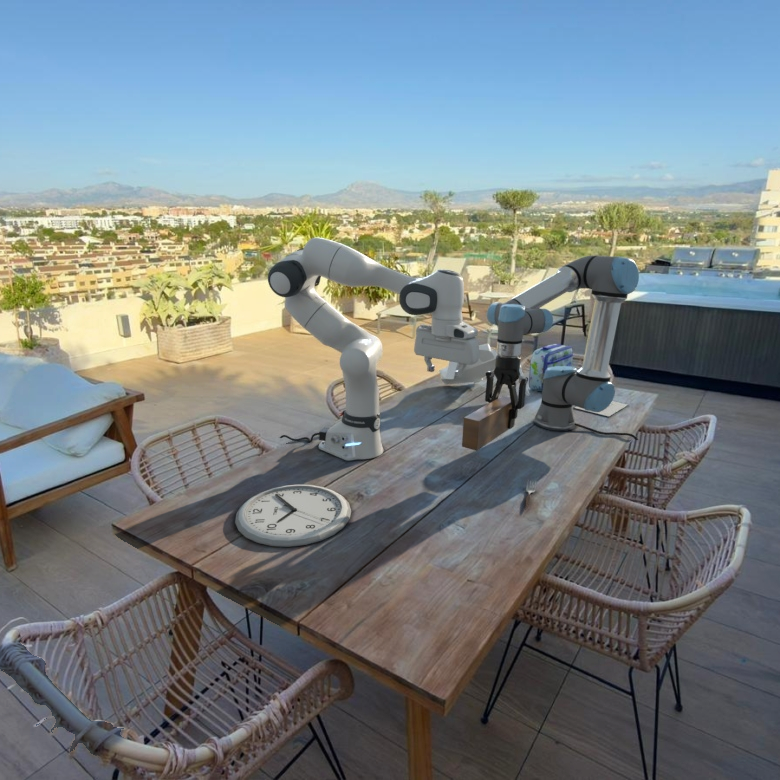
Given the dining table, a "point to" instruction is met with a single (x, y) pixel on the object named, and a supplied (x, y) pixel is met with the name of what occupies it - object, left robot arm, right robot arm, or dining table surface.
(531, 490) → the fork
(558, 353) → the lunch box
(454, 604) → the dining table surface
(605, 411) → the invitation card
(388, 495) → the dining table surface
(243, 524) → the wall clock
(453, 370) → the white plastic object
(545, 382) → the right robot arm
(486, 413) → the bar
